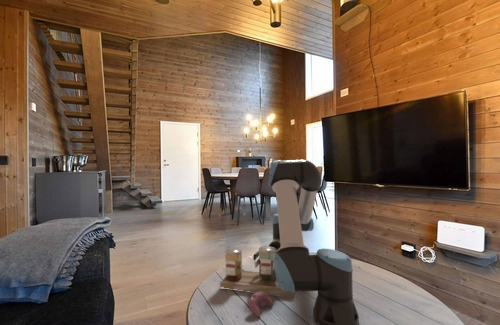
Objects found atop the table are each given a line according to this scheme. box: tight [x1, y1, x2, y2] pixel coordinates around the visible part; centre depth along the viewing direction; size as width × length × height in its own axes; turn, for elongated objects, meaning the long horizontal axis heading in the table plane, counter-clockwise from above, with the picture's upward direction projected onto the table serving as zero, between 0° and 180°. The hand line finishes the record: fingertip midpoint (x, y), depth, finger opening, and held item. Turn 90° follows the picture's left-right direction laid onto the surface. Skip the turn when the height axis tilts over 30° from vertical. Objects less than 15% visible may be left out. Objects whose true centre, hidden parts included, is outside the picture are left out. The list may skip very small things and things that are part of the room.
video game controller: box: [247, 291, 274, 318], centre depth 95 cm, size 10×5×7 cm, turn 141°
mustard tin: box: [224, 247, 243, 281], centre depth 117 cm, size 8×8×12 cm
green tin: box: [258, 245, 276, 281], centre depth 113 cm, size 8×8×12 cm
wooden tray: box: [219, 270, 295, 298], centre depth 114 cm, size 16×32×3 cm, turn 76°
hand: (264, 265), depth 108 cm, fingers closed on green tin, 7 cm apart
